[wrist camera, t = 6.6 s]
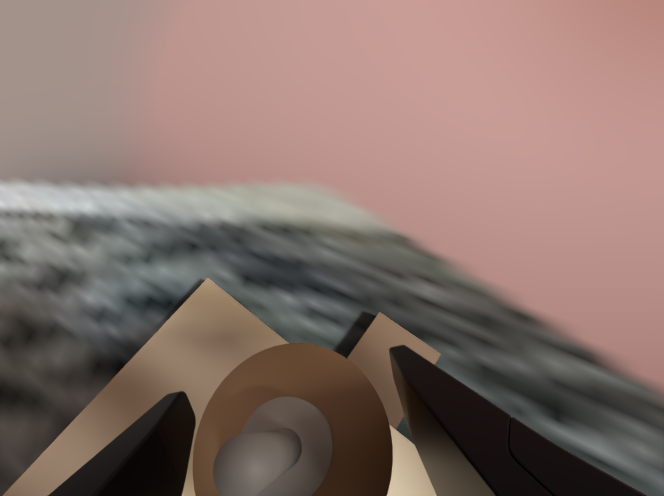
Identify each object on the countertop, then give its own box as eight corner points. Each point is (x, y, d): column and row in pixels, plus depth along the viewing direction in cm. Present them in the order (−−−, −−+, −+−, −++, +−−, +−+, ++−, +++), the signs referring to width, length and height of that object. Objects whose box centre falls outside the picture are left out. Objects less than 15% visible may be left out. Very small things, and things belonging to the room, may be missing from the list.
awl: (326, 505, 14) (187, 939, 2) (267, 428, 15) (-1, 461, 4) (388, 430, 15) (504, 472, 3) (328, 366, 16) (266, 240, 5)
